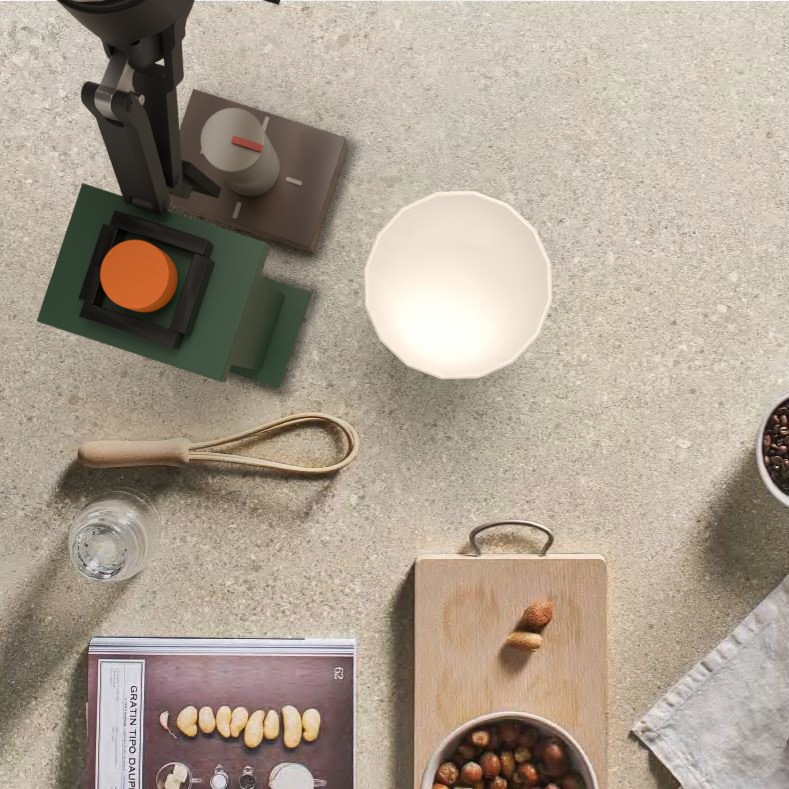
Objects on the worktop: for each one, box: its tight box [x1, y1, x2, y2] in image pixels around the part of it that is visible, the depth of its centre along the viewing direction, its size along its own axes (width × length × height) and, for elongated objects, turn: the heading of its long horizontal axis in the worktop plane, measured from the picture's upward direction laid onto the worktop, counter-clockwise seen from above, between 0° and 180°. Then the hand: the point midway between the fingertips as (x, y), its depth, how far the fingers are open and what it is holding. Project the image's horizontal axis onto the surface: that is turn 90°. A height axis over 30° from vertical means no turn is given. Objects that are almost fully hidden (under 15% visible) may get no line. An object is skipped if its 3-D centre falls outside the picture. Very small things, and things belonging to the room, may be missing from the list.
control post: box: [36, 182, 313, 390], centre depth 66 cm, size 12×9×26 cm
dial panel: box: [169, 88, 349, 254], centre depth 77 cm, size 14×10×3 cm
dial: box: [201, 108, 280, 196], centre depth 72 cm, size 5×5×8 cm
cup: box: [362, 190, 553, 380], centre depth 71 cm, size 14×14×16 cm
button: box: [100, 240, 178, 312], centre depth 52 cm, size 4×4×2 cm
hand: (232, 92), depth 61 cm, fingers open, 13 cm apart
